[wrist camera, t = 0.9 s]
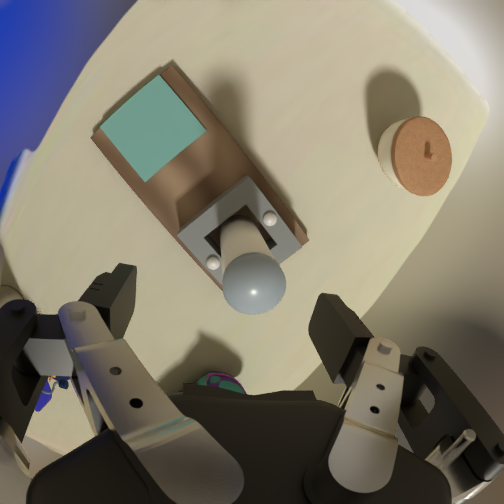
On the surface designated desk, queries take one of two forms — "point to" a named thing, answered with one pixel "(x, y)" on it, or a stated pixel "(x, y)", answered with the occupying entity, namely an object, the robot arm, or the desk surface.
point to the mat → (152, 128)
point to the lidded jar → (415, 155)
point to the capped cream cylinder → (249, 268)
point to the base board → (196, 174)
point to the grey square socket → (222, 209)
